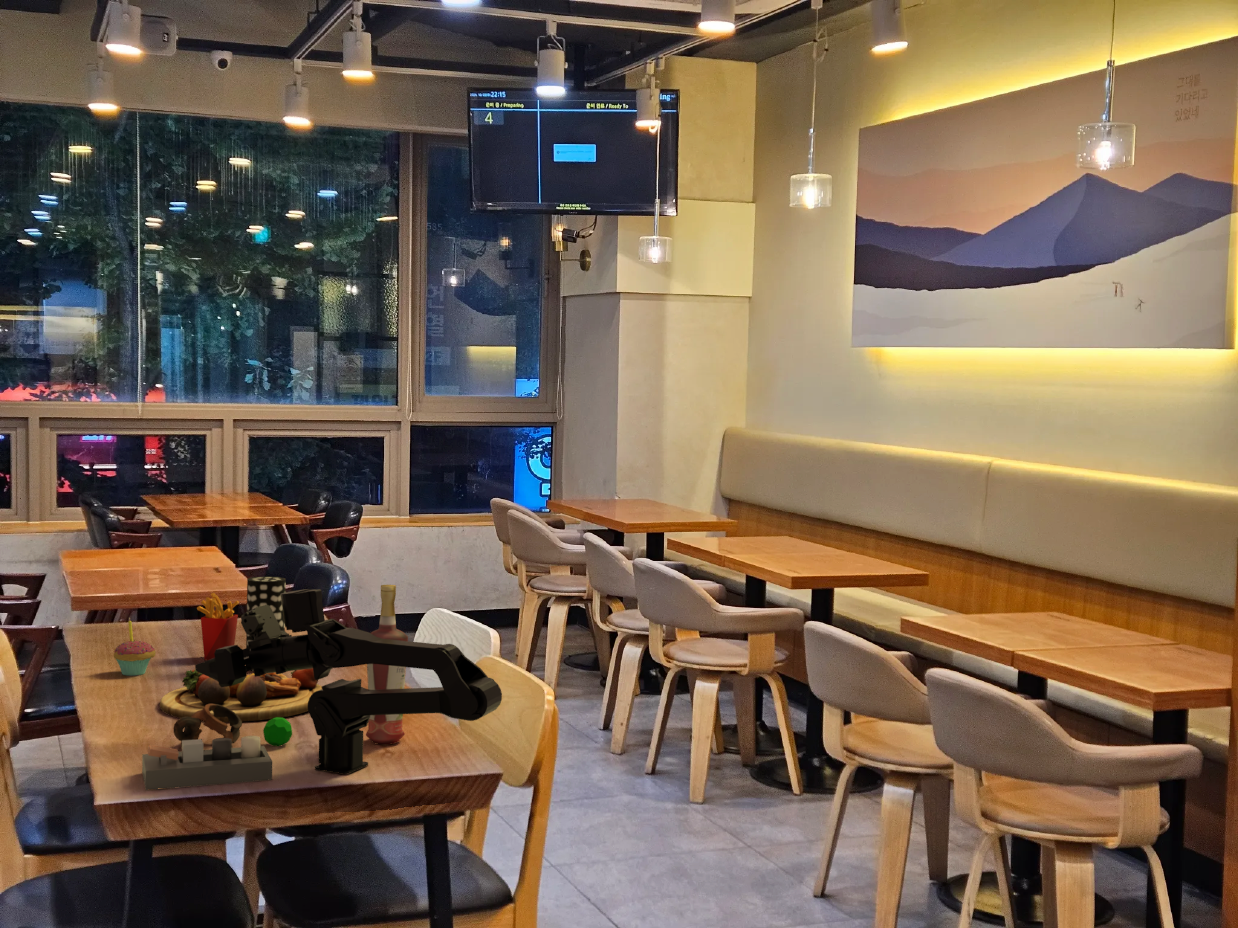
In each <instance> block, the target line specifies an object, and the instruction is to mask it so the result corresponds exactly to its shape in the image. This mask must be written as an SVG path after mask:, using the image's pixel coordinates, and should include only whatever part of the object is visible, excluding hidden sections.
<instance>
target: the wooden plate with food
mask: <svg viewBox="0 0 1238 928" xmlns="http://www.w3.org/2000/svg"><path fill="white" fill-rule="evenodd" d="M246 675H247V674H246ZM290 676H291V677H290V678H289V677H287V676H286V675H284V673H282V674H276V673H267V674H264V675H262V676H256V677H255V675H254V672H253V673H251V674H248V675H247V676H246V678H245V679H244V681H243V682H241V683H238V684H236V685H233V686H228V687H221V686H220V685H219V682H218V681H216V680H214V679H212V678H210V677H208V676H206V675H204V674H201V673H199V672H197V671H196V668H194V669H192V670H191V669H190V670H186V671H185V677H183V679H182V681H181V683H183V687H181V688H180V687H179V688H177V689H174V690H171V691H169V692H167V693H165V694H164V695H163V696H162V697H161V699H160V702H159V708H160V710H161V711H162V712H163V713H165V714H166V715H168V714H169V715H168V716H171V717H174V718H177V717H178V719H180V718H182V717H191V716H192V715H193V714H194V713H195V712H197V711H199V710H202V709H204V707H205V705H207V704H218V705H221V706H224V707H226V708H228V709H230V710H232V711H233V712H234V713H236V714H237V715H238V716H239V718H240V719H241V721H242V723H243V722H254V721H255V722H256V721H265V720H271V719H273V718H276V717H282V718H287V717H291V716H296V715H297V716H298V715H300V714H305V713H306V712H308V701H309V698H310V697H311V695H312V694H313V693H314V692H316V691H318V690H321V689H322V688H321V687H322V686H323V685H320V684H318V682H319V680H315V679H314V673H313V668H312V669H303V670H294V671H290ZM210 713H211V714H212V715H214V713H213V711H210ZM216 718H217V719H218V720H220V721H222V722H224V723H229V720H228V717H224V718H223V717H216Z"/></svg>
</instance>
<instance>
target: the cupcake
mask: <svg viewBox="0 0 1238 928" xmlns="http://www.w3.org/2000/svg"><path fill="white" fill-rule="evenodd" d="M132 623H133V622H132V621H131V618H130V617H128V633H129V634H128V635H129V641H125V642H122V643H120V644H119V645H117V647H115V648H114V652H113V658H114V659H115V660H116V662H117V664H118V666H119V669H120V671H121V675H123V676H135V677H136V676H141V675H144V674H146V671H147V669H148V666H149V663H150V660H151V659H152V658H154V657H155V656H156V653H157V652H156V648H155V647H154V646H153V645H152V644H149V643H148V642H147V641H144V640H143V641H141V640H134V636H133V635H134V633H133V626H132V625H133V624H132Z"/></svg>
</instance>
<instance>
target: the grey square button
mask: <svg viewBox="0 0 1238 928" xmlns="http://www.w3.org/2000/svg"><path fill="white" fill-rule="evenodd" d="M203 750H204V742H203V740H202V739H200V738H198V739H197V740H182V748H181V752H182V761H183V763H190V762H203Z"/></svg>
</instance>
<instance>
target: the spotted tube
mask: <svg viewBox="0 0 1238 928" xmlns="http://www.w3.org/2000/svg"><path fill="white" fill-rule="evenodd" d="M286 579H287V578H284V577H280V576H257V577H256V576H255V577H249V578H247V580H246V583H247V584H246V612H249V611H251V610H252V609H254V608H256V607H259V606H263V605H269V606H270V607H271V609H272V611H273V613H274V615H275V617H276V619H277V621H278V623H279V626H280V630H281V631H285V632H286V627H285V623H284V616H283V609H282V602H281V595H280V594H282V593H286V589H287V588H286V585H287V584H286ZM245 634H246V633H245ZM245 636H246V638H245V641H246V642H245V645H246V646H245V648H248V641H252V640H253V639H252V638H251V637H250V635H248V634H246V635H245ZM251 672H254V669H253V670H252V671H251Z"/></svg>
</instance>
